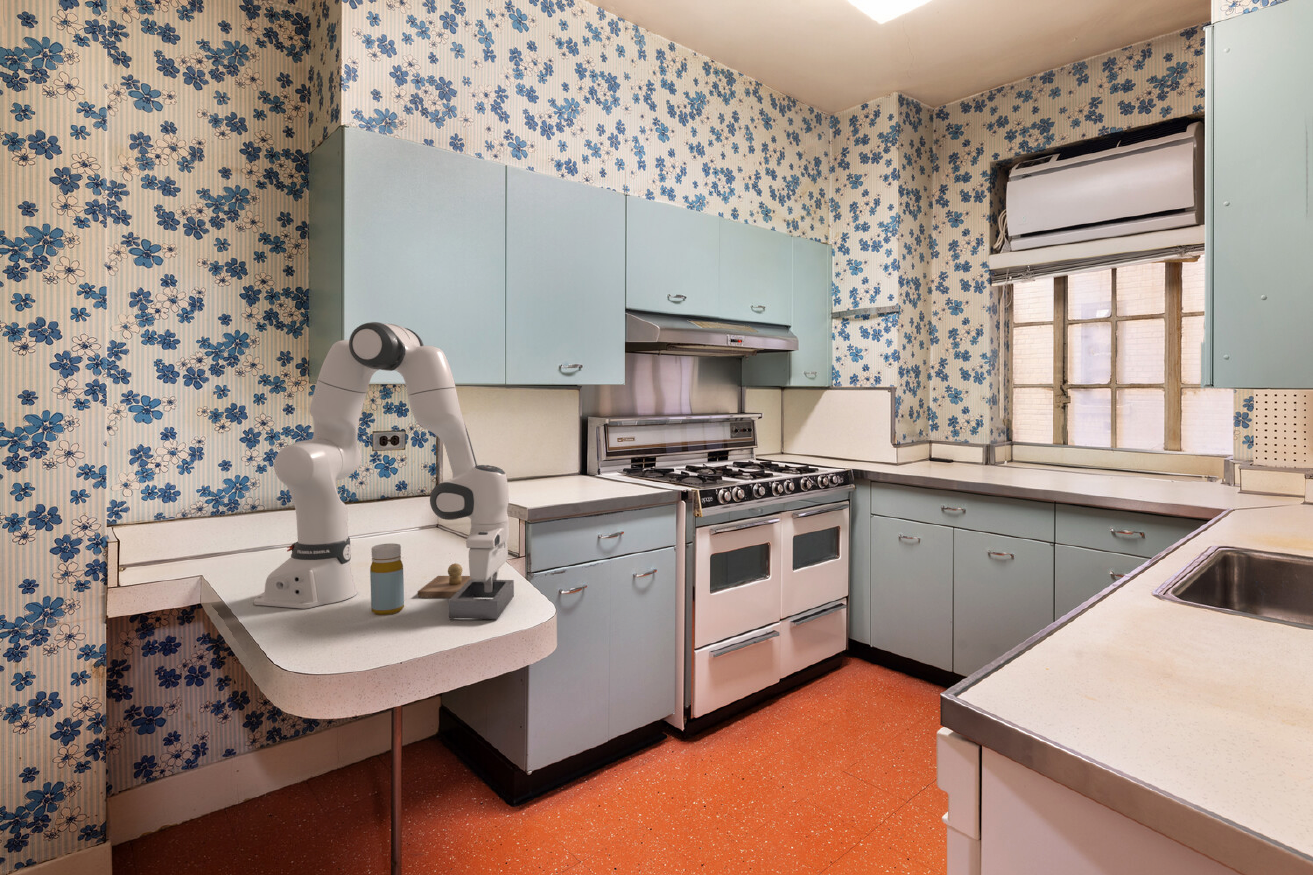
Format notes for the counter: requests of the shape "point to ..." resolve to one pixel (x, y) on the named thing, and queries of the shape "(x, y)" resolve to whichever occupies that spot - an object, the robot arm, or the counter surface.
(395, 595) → the bottle
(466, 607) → the grey open tray
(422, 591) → the keeper
